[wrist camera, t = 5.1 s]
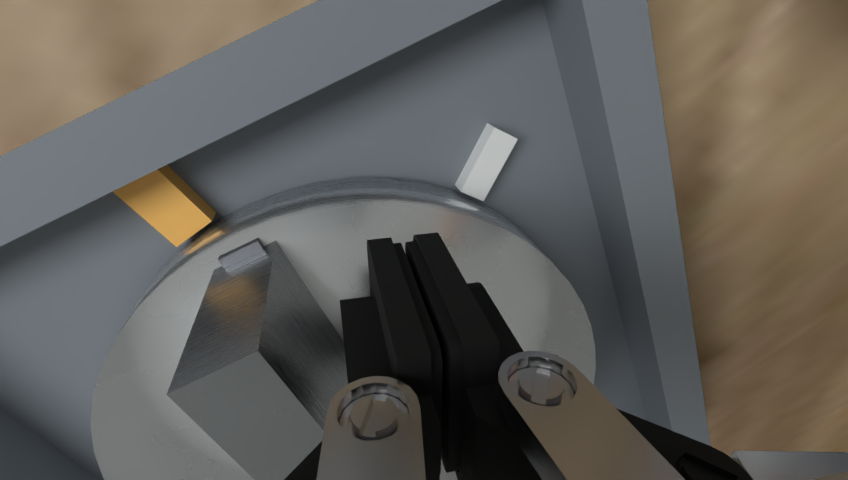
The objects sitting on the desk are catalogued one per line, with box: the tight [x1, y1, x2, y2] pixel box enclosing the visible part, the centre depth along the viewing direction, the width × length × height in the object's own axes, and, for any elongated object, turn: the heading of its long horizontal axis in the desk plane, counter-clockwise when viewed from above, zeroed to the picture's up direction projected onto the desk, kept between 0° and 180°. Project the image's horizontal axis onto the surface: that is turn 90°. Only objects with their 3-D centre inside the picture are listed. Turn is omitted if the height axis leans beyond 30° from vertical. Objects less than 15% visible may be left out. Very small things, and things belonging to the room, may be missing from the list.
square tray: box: [0, 0, 711, 480], centre depth 16 cm, size 22×22×3 cm
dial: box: [91, 178, 596, 480], centre depth 13 cm, size 15×15×6 cm
